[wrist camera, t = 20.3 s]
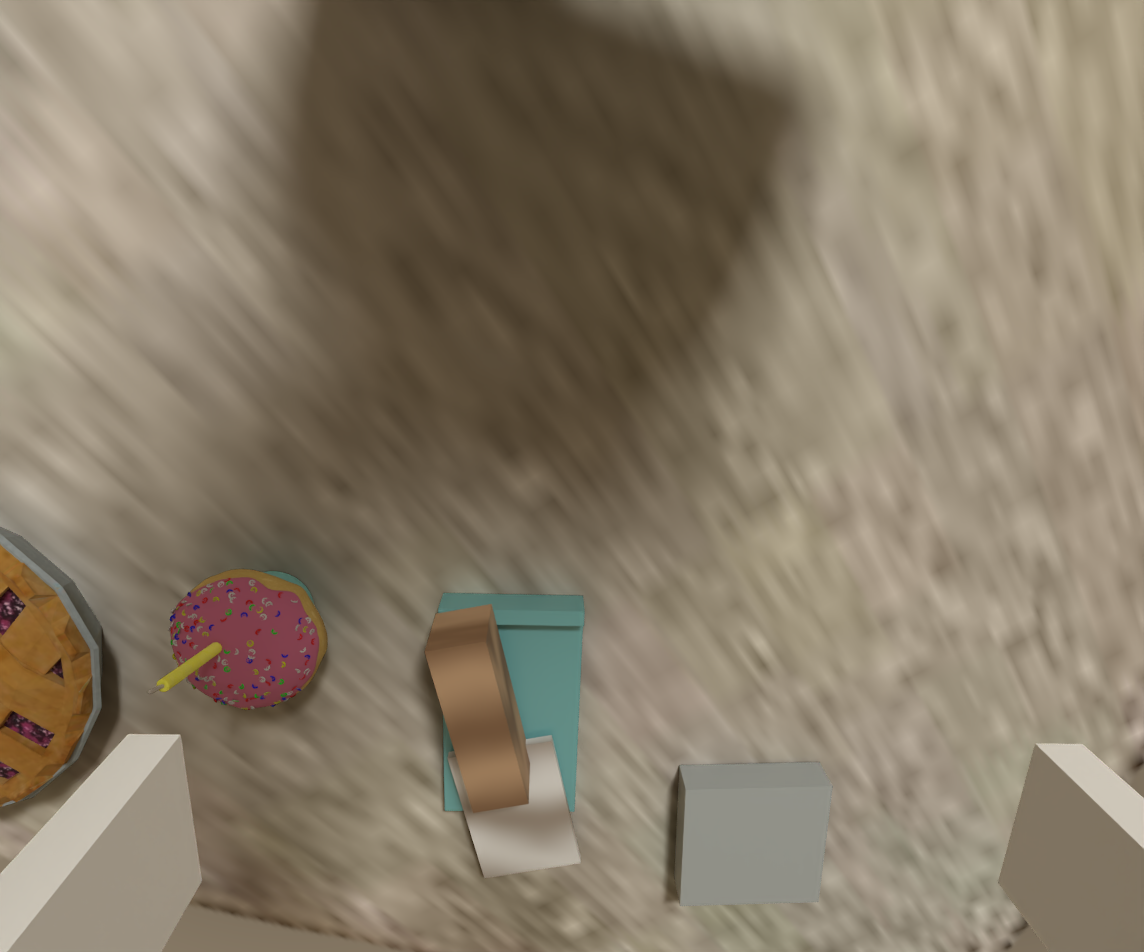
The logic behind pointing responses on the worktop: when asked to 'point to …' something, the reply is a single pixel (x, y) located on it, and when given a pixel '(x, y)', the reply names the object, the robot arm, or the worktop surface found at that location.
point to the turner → (497, 751)
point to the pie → (43, 670)
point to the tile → (751, 833)
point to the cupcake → (246, 638)
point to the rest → (534, 672)
